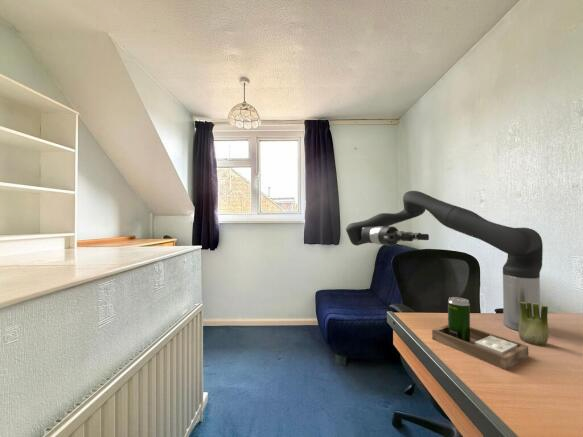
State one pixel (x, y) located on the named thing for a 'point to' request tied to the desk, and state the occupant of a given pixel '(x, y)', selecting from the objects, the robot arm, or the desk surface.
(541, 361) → the desk surface
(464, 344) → the crate
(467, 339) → the beer can
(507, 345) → the egg carton
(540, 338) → the fennel bulb
